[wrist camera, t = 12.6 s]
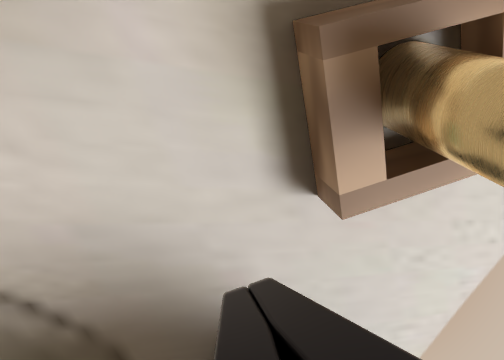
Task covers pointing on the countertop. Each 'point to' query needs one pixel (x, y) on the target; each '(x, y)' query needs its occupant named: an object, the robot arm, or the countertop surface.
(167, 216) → the countertop surface
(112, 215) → the countertop surface
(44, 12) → the countertop surface
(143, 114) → the countertop surface
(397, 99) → the peg
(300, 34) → the jig
